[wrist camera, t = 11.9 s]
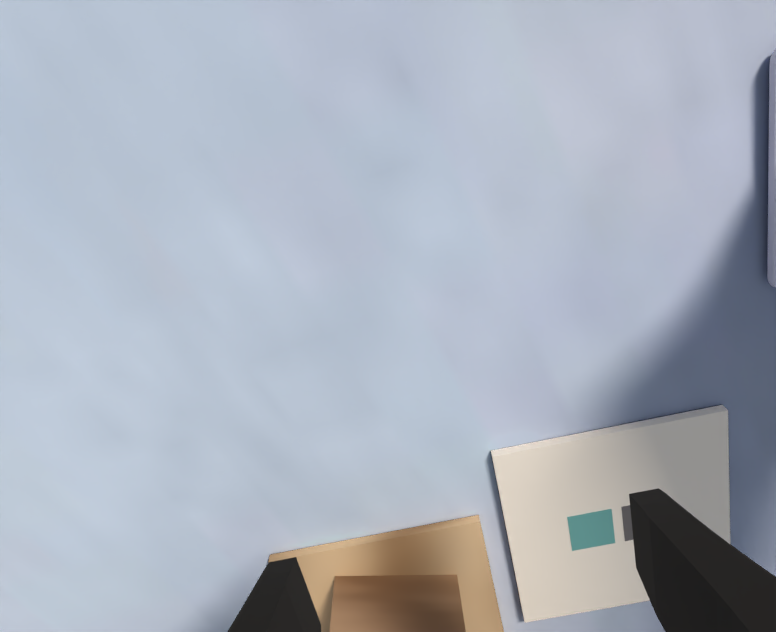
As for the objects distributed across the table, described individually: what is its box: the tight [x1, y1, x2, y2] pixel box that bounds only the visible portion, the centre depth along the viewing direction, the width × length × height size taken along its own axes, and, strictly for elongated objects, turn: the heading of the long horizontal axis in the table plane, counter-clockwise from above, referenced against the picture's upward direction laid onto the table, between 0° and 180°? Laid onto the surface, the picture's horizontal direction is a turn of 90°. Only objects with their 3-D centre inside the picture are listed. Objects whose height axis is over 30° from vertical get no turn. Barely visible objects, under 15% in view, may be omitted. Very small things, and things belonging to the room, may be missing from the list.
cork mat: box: [268, 515, 504, 632], centre depth 26 cm, size 9×9×1 cm
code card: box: [491, 405, 730, 623], centre depth 24 cm, size 9×9×1 cm
